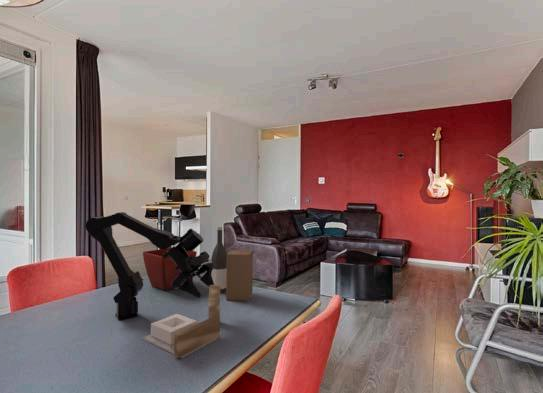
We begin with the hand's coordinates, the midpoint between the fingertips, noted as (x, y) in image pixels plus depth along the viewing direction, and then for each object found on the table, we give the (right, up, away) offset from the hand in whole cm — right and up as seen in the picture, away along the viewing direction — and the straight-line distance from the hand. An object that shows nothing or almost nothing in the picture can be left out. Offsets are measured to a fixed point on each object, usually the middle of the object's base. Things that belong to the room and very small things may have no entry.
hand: (207, 293), depth 109 cm
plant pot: (-28, -10, +41) cm, 51 cm away
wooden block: (+9, -10, +26) cm, 29 cm away
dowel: (+2, -10, -1) cm, 11 cm away
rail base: (-6, -10, -13) cm, 18 cm away
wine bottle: (-2, -10, +35) cm, 37 cm away
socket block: (-8, -10, -12) cm, 18 cm away
